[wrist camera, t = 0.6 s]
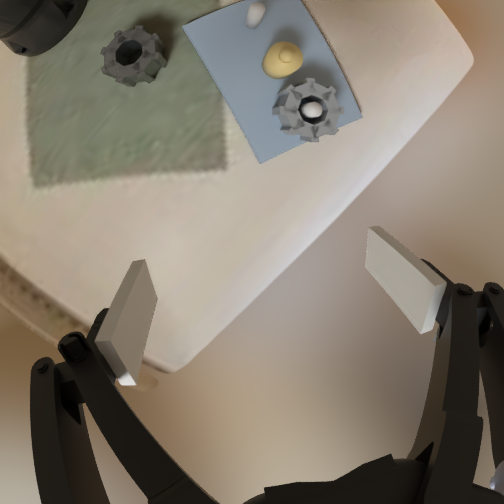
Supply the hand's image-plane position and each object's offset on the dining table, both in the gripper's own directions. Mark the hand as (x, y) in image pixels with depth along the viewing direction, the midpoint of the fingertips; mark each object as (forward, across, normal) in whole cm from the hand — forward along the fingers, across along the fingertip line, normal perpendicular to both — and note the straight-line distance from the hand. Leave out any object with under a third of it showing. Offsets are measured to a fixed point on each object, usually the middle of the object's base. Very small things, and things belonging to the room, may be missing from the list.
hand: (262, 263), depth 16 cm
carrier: (+24, +7, +15) cm, 29 cm away
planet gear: (+24, -11, +19) cm, 32 cm away
